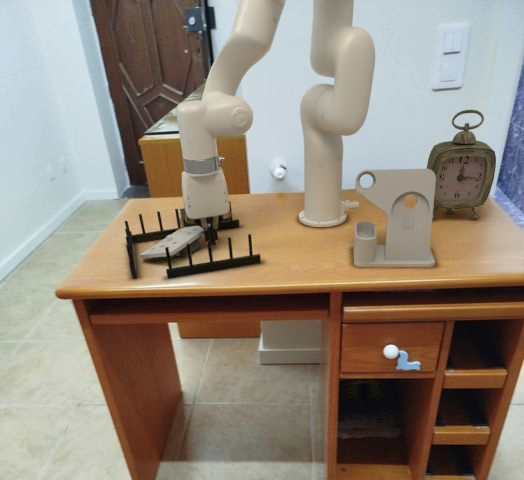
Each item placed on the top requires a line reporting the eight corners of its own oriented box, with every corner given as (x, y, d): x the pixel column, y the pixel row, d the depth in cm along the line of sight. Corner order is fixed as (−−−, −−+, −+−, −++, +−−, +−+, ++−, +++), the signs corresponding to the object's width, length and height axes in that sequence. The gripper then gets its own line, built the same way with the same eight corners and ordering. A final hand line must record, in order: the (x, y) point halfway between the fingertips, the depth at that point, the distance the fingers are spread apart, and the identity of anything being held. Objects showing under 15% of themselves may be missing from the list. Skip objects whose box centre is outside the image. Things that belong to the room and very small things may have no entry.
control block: (223, 213, 135) (221, 195, 132) (229, 223, 129) (227, 204, 126) (181, 219, 133) (178, 201, 130) (184, 229, 127) (181, 211, 124)
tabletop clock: (424, 222, 121) (439, 114, 107) (419, 210, 129) (433, 107, 114) (484, 222, 120) (508, 112, 105) (475, 209, 127) (497, 104, 112)
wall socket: (187, 265, 106) (182, 248, 104) (129, 269, 112) (124, 253, 110) (218, 237, 121) (214, 221, 119) (166, 241, 126) (161, 227, 124)
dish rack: (238, 226, 127) (236, 200, 123) (260, 263, 108) (258, 233, 104) (129, 242, 122) (123, 216, 118) (133, 284, 103) (125, 254, 99)
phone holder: (352, 266, 104) (356, 183, 94) (351, 247, 112) (355, 168, 102) (435, 267, 102) (449, 181, 91) (428, 247, 110) (441, 166, 99)
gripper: (231, 156, 109) (239, 233, 119) (165, 165, 106) (179, 242, 117) (238, 164, 103) (245, 244, 114) (169, 174, 100) (183, 255, 111)
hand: (212, 243), depth 115 cm, fingers closed
